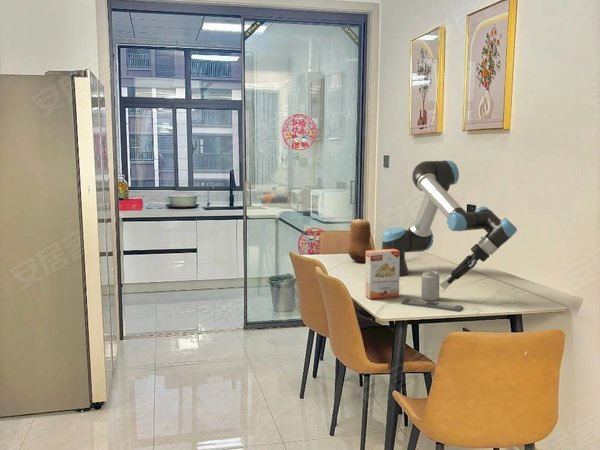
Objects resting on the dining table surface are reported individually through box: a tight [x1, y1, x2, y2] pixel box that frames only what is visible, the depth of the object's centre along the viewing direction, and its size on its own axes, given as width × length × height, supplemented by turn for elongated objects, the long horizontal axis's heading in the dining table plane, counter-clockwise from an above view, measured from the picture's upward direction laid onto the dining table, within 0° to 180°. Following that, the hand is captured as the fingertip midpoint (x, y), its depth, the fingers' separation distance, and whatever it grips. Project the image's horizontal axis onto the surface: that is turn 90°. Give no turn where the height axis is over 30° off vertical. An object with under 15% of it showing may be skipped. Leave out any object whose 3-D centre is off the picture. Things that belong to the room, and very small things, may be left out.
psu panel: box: [401, 298, 464, 313], centre depth 230 cm, size 6×24×1 cm, turn 58°
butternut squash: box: [348, 218, 374, 264], centre depth 320 cm, size 14×13×25 cm
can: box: [421, 270, 440, 302], centre depth 240 cm, size 8×8×12 cm
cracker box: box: [365, 249, 400, 300], centre depth 244 cm, size 14×6×21 cm, turn 106°
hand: (442, 287), depth 238 cm, fingers closed
